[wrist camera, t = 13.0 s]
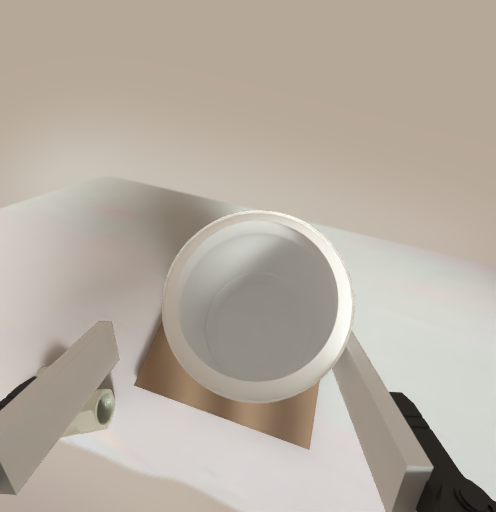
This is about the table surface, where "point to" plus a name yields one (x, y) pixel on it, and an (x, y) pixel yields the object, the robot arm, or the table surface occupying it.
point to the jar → (258, 306)
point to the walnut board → (247, 414)
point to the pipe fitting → (91, 412)
